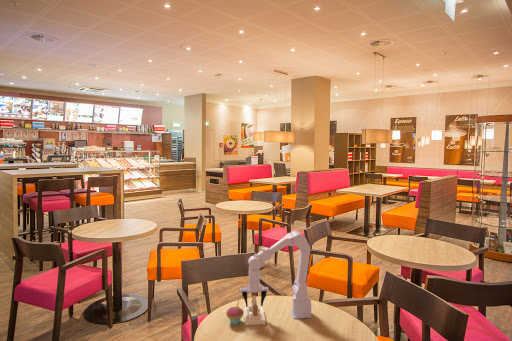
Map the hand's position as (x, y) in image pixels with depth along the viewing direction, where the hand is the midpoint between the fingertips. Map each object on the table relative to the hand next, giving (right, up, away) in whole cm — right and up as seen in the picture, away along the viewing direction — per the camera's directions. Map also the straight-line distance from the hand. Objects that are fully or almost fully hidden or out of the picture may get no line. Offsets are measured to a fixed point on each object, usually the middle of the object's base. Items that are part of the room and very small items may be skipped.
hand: (254, 305), depth 161 cm
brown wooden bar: (0, -2, 0) cm, 2 cm away
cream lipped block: (0, -6, 0) cm, 6 cm away
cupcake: (-10, -7, -3) cm, 12 cm away
